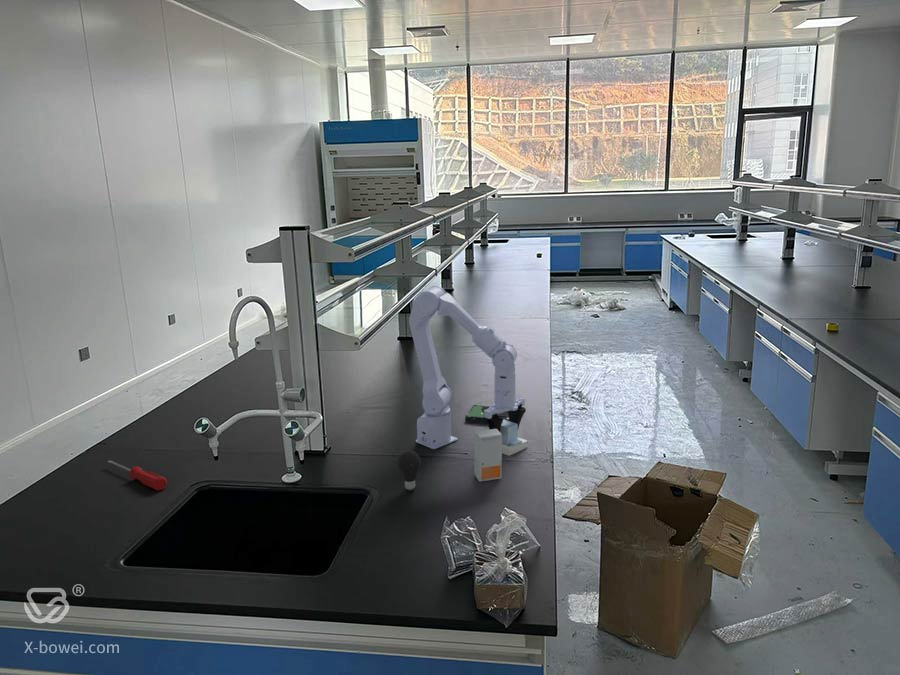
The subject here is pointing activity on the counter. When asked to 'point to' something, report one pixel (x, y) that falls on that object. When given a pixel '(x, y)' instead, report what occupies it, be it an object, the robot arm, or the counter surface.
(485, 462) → the skincare box
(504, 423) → the block
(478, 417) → the disk drive
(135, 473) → the screwdriver
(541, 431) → the counter surface
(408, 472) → the light bulb
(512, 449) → the frame
